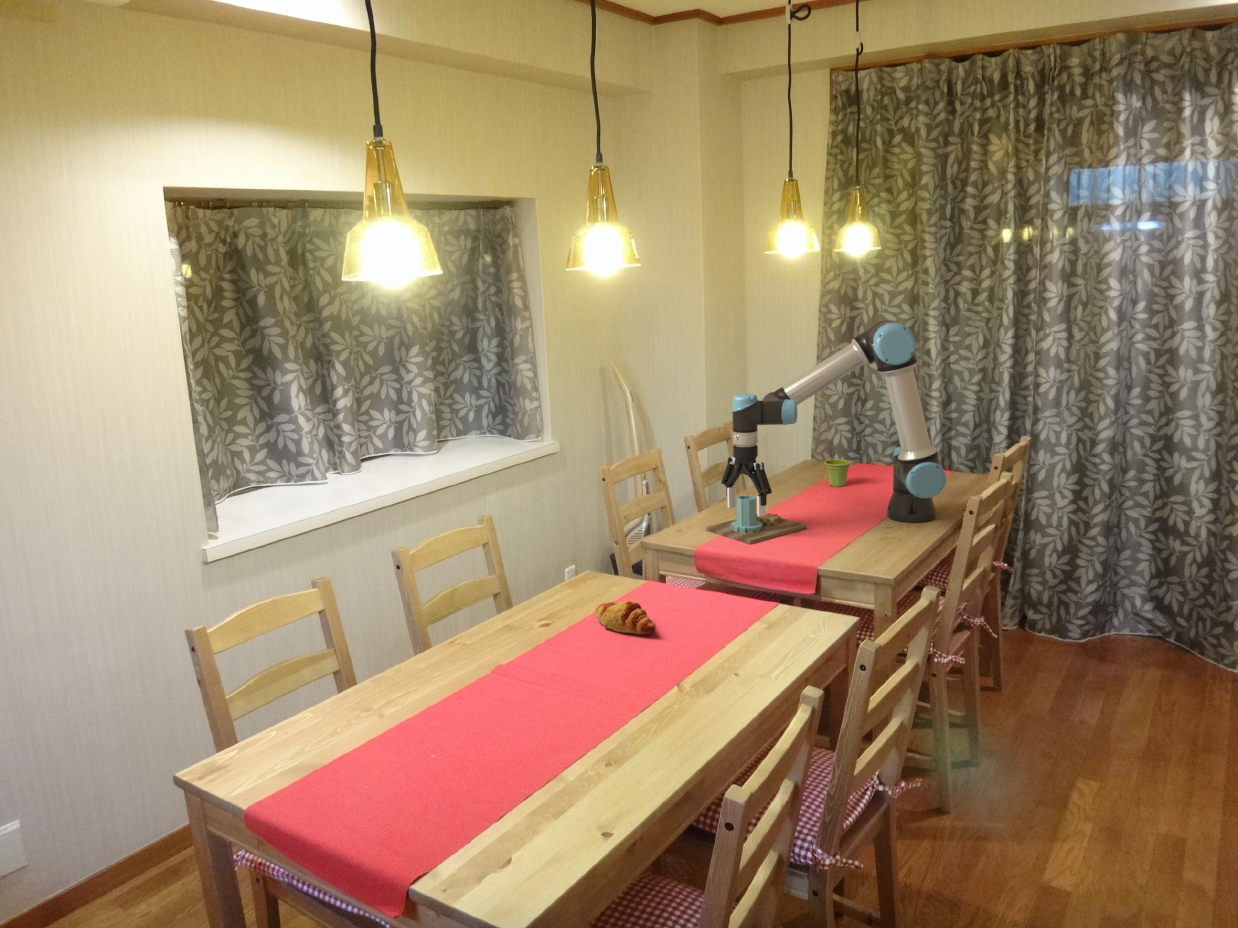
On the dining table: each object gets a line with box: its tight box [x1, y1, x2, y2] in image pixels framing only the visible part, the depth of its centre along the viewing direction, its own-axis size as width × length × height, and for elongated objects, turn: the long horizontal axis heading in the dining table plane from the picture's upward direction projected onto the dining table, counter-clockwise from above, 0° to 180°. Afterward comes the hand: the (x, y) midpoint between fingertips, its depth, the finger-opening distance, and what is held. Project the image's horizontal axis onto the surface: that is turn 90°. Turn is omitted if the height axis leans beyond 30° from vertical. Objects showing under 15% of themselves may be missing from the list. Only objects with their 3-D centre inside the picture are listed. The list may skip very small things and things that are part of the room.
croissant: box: [594, 599, 657, 636], centre depth 236 cm, size 21×10×8 cm, turn 41°
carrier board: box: [705, 512, 807, 545], centre depth 310 cm, size 20×24×6 cm
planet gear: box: [731, 494, 763, 533], centre depth 307 cm, size 10×10×10 cm
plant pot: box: [823, 458, 852, 488], centre depth 361 cm, size 9×9×9 cm
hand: (746, 511), depth 307 cm, fingers open, 13 cm apart
